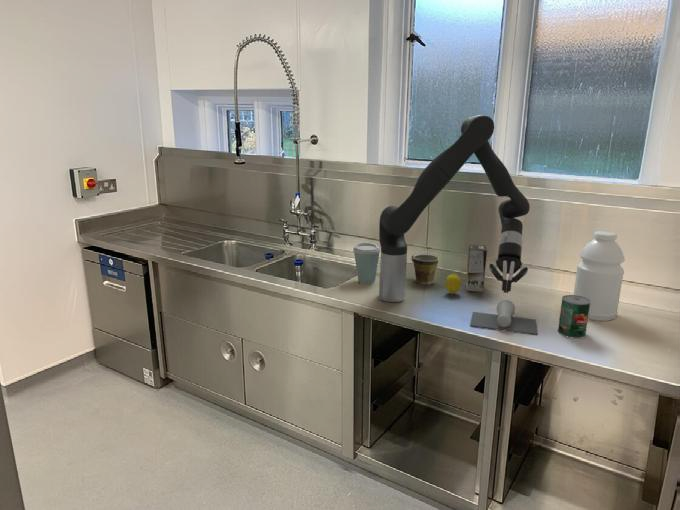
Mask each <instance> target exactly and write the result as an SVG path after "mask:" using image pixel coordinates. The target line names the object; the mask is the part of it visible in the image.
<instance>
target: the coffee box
mask: <svg viewBox="0 0 680 510" xmlns="http://www.w3.org/2000/svg"><path fill="white" fill-rule="evenodd" d="M487 253H488V249H487V247H486V245H485V244H468V252H467V262H466V263H467V266H466V279H465V281H466V282H465V287H466V291H469V292H479V293H480V292H481V293H482V292H484V286H485V279H486V278H485V276H486V275H485V274H486V265H487V256H488V255H487Z"/></svg>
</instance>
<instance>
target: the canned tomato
mask: <svg viewBox="0 0 680 510" xmlns="http://www.w3.org/2000/svg"><path fill="white" fill-rule="evenodd" d="M560 306H561V307H560V312H559V320H558V328H557V331H558V334H560V335H561V334H562V336H563V335H564V336H563V337H566V336H568V337H567V338H570V337H573V338H572V339H582V337H583V338H584V337H586V334H587V333H586V332H587V328H588V320H589V319H588V314H589V308H590V300H589V299H587V298H585V297H582V296H577V295H574V294H567V295H566V294H565V295H563V296H562V297H561V305H560Z"/></svg>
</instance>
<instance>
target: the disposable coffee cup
mask: <svg viewBox="0 0 680 510" xmlns="http://www.w3.org/2000/svg"><path fill="white" fill-rule="evenodd" d="M352 250H353V251H352V252H353V254H354V259H355V260H354V261H355V267H356V268H355V269H356V272H357V273H356V274H357V279H358V282H360V283H359V284H361V283H362V285H371V284H374V283H375V281H376V276H377V271H378V270H377V269H378V266H379V258H380V257H379V256H380V253H381V247H379V245H378V244H376V243H373V242H369V241H367V242H366V241H365V242H358V243H356V244H355V245H354V247H353V249H352Z"/></svg>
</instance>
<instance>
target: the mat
mask: <svg viewBox="0 0 680 510" xmlns="http://www.w3.org/2000/svg"><path fill="white" fill-rule="evenodd" d="M498 316H499V315H498V314H496V313H494V314H493V313H487V312H478V311H472V314H471V318H470V323H469V326H471V327H472V328H478V327H481V328H480V329H485V328H489V329H488V330H493V329H498V330H497V331H501V330H506V331H505V332H509V331H514V332H513V333H517V332H521V333H520V334H524V333H528V334H527V335H532V334H536V335H535V336H538V326H537V319H536V318H530V317H529V318H528V317H520V316H512V317H511V324H510V326H508V327H506V328H503V327H500V326H499V325H498V324H497V318H498Z"/></svg>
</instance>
